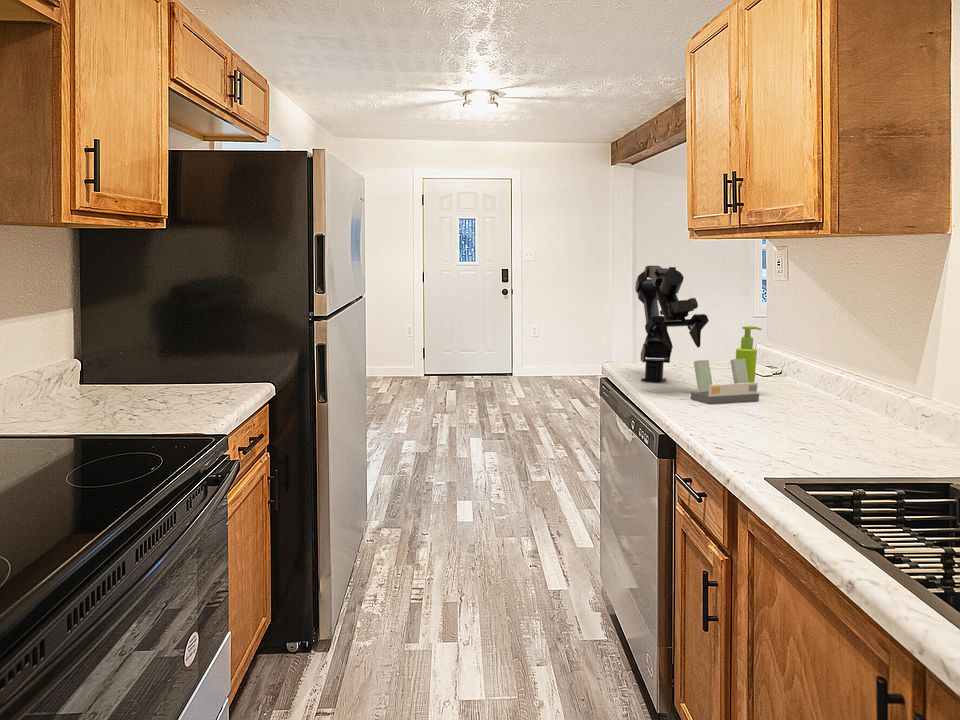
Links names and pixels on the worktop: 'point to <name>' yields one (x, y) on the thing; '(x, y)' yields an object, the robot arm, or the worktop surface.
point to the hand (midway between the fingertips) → (685, 347)
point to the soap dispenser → (748, 353)
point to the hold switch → (739, 371)
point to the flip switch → (703, 375)
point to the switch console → (728, 393)
